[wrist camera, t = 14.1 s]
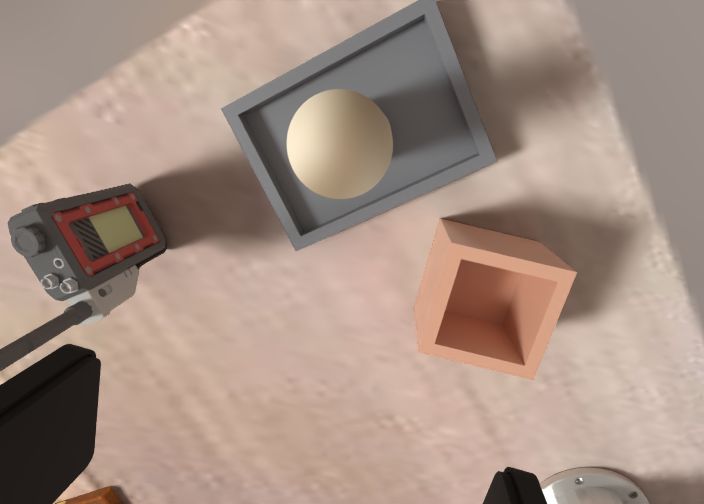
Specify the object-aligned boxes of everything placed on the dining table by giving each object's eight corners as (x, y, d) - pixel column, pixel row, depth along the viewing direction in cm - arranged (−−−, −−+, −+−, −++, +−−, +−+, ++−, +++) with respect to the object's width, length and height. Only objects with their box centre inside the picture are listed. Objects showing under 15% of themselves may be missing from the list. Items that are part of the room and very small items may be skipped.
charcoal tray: (429, 3, 33) (432, -8, 30) (489, 158, 36) (497, 161, 33) (233, 109, 37) (220, 108, 34) (302, 242, 40) (295, 251, 37)
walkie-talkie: (187, 262, 41) (11, 382, 22) (149, 277, 42) (-51, 405, 23) (142, 177, 39) (-94, 229, 20) (104, 195, 40) (-158, 260, 21)
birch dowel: (397, 110, 34) (404, 101, 19) (383, 171, 36) (379, 209, 21) (337, 97, 35) (295, 78, 19) (325, 159, 36) (279, 186, 21)
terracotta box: (540, 241, 38) (577, 272, 30) (507, 331, 40) (533, 380, 33) (440, 218, 38) (451, 242, 30) (413, 308, 41) (418, 352, 33)
